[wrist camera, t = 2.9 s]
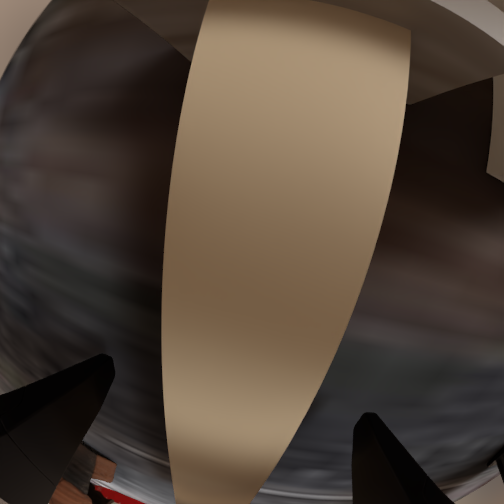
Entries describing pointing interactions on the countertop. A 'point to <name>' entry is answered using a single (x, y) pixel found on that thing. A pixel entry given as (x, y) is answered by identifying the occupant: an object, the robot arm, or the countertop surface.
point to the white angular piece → (497, 121)
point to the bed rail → (283, 203)
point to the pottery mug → (84, 479)
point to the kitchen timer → (116, 496)
